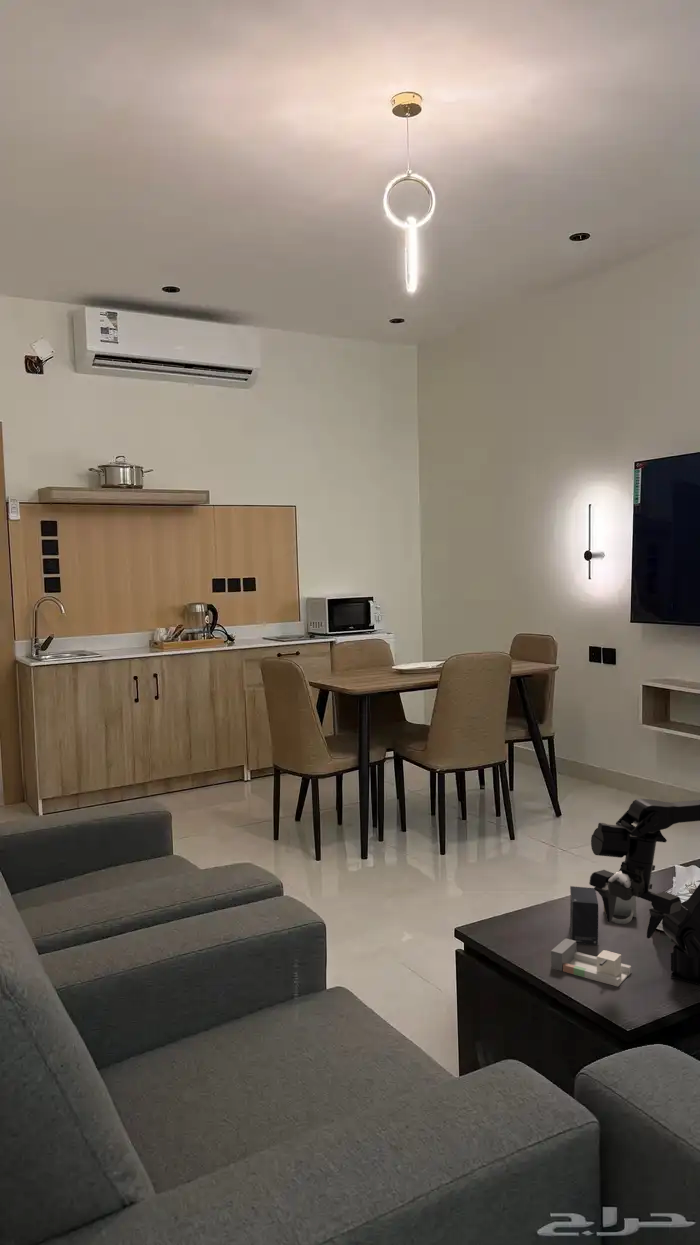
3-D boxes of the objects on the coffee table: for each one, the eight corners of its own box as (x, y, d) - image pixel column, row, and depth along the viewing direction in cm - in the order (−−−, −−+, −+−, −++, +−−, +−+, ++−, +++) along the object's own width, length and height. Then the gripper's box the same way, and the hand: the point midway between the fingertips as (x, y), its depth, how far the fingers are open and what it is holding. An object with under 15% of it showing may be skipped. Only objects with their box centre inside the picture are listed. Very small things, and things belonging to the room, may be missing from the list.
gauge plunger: (621, 972, 192) (621, 954, 192) (609, 984, 187) (609, 966, 187) (603, 967, 195) (603, 949, 194) (591, 979, 189) (591, 961, 189)
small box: (599, 946, 207) (599, 902, 206) (571, 944, 208) (571, 901, 207) (596, 928, 217) (596, 886, 216) (569, 926, 218) (569, 885, 218)
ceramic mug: (602, 907, 230) (602, 879, 229) (634, 909, 228) (634, 881, 227) (604, 924, 219) (604, 894, 219) (638, 926, 218) (638, 896, 217)
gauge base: (631, 972, 193) (631, 954, 193) (618, 986, 187) (618, 968, 186) (565, 955, 202) (565, 938, 202) (551, 968, 196) (551, 950, 196)
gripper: (581, 850, 189) (571, 920, 189) (663, 878, 175) (651, 954, 176) (607, 844, 196) (597, 912, 197) (687, 871, 183) (676, 943, 184)
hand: (628, 929), depth 188 cm, fingers open, 9 cm apart
